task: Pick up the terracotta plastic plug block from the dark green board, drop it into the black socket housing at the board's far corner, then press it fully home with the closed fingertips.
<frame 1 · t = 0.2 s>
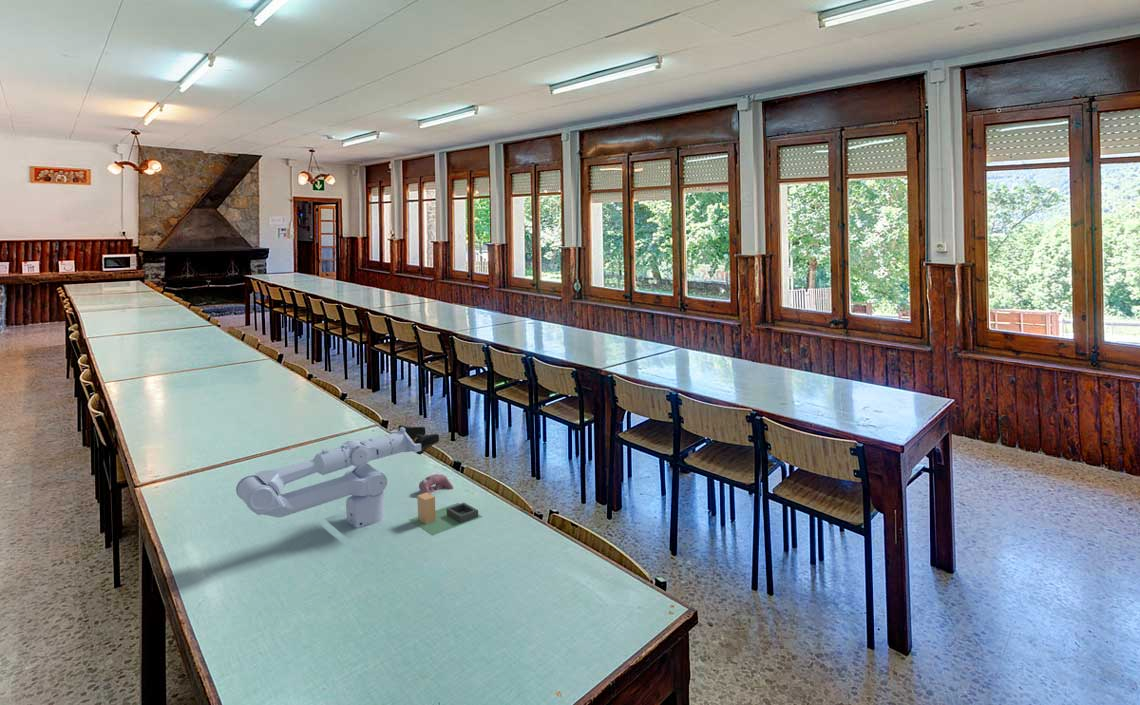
hand: (431, 434, 177), 21 cm above the table, tool horizontal, fingers open, 7 cm apart
plug: (426, 520, 167), point 1 cm above the table, touching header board
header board: (446, 522, 169), on the table
video game controller: (436, 495, 187), on the table
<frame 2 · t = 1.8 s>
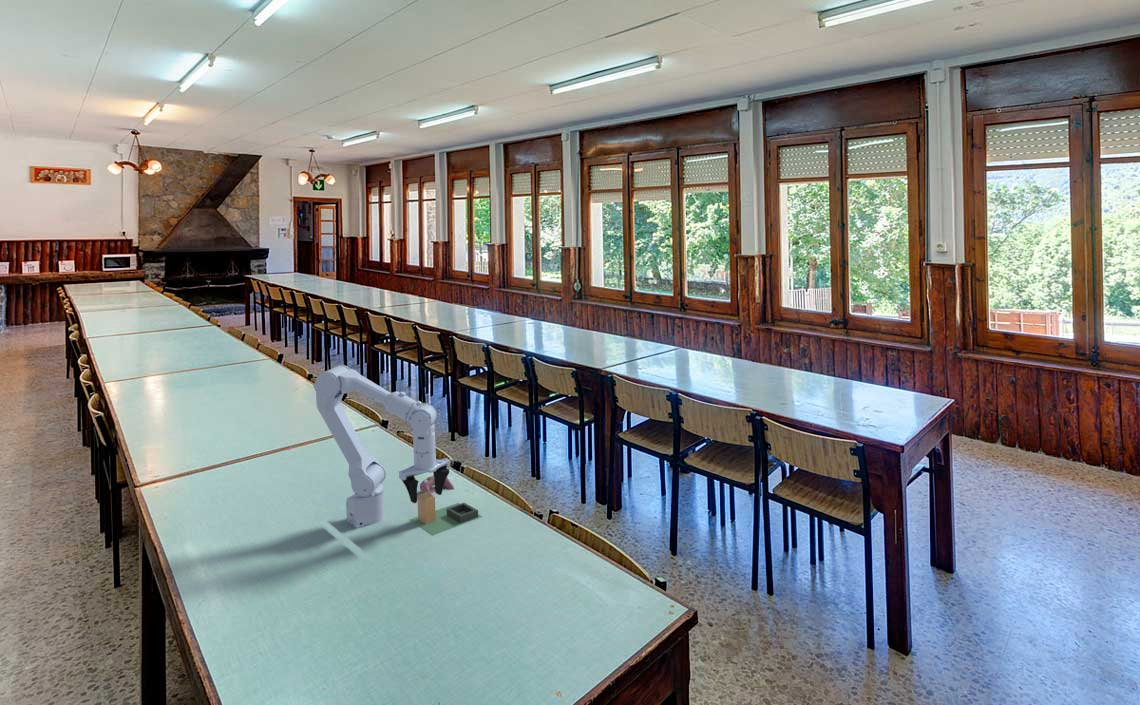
hand: (426, 497, 166), 8 cm above the table, tool pointing down, fingers open, 7 cm apart
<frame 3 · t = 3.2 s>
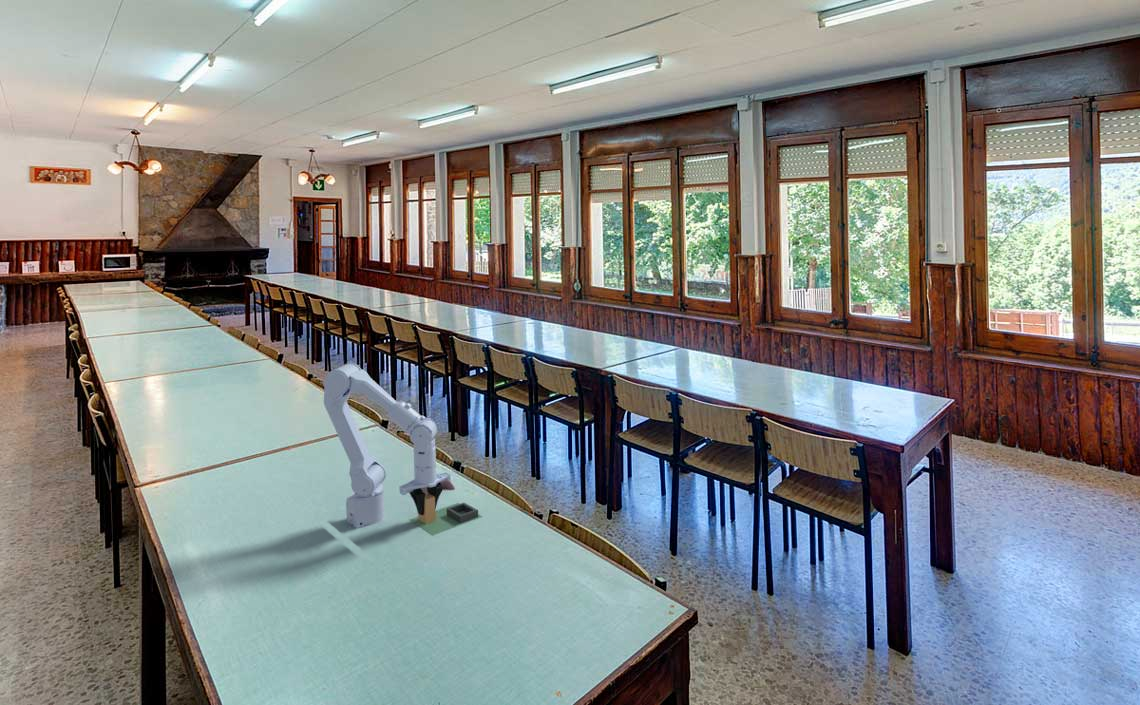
hand: (426, 511, 167), 4 cm above the table, tool pointing down, fingers closed on plug, 3 cm apart
plug: (426, 520, 167), point 1 cm above the table, touching gripper, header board
everything else where it was.
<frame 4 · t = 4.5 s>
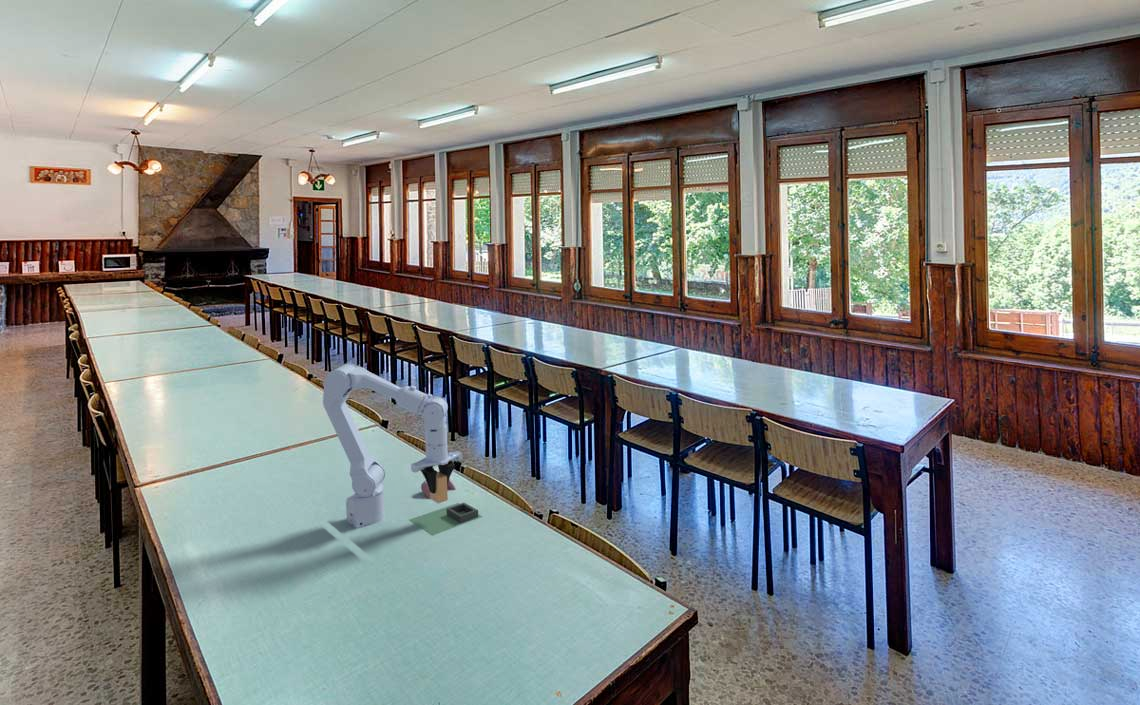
hand: (438, 490, 166), 10 cm above the table, tool pointing down, fingers closed on plug, 3 cm apart
plug: (438, 499, 167), point 7 cm above the table, touching gripper
when the fingers open (6 cm above the table, at t = 6.1 s): plug drops 3 cm, resting on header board.
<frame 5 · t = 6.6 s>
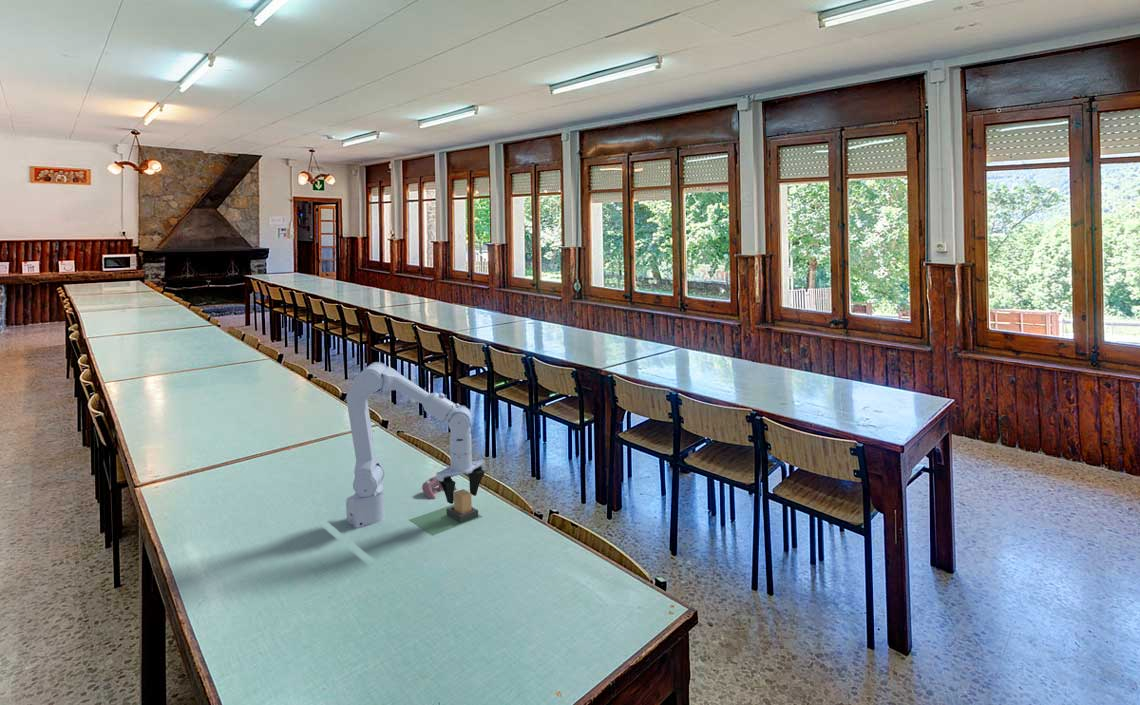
hand: (462, 498, 169), 6 cm above the table, tool pointing down, fingers open, 7 cm apart
plug: (463, 516, 169), point 1 cm above the table, touching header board
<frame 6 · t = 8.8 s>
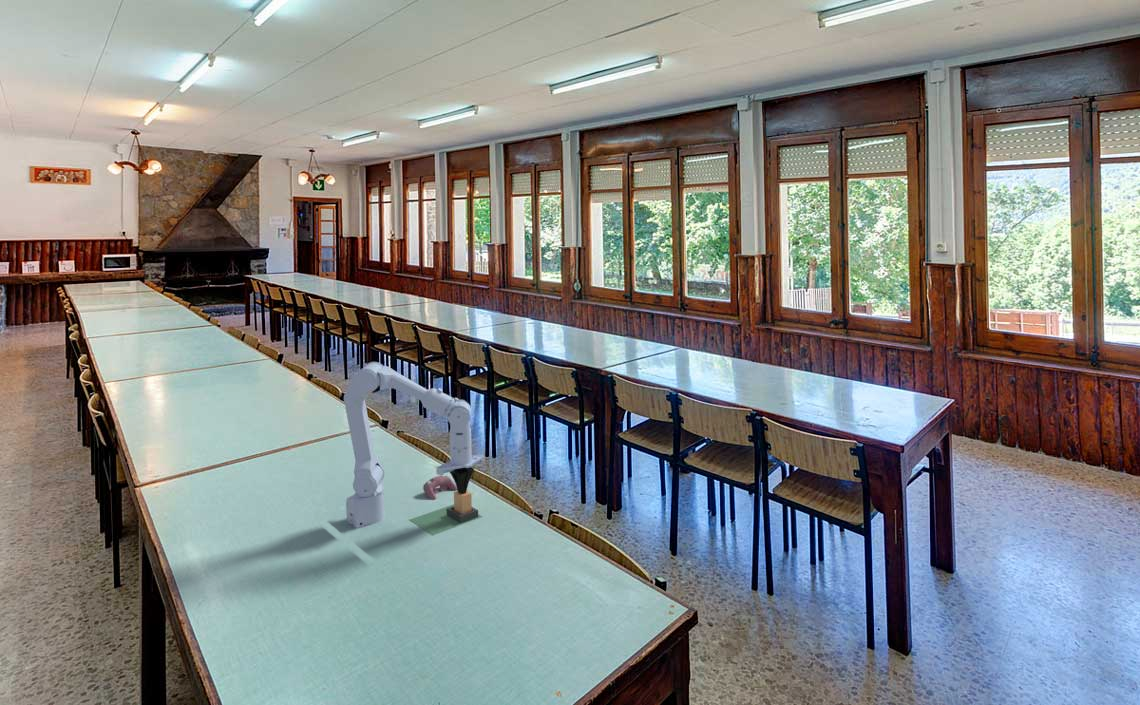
hand: (462, 492, 168), 8 cm above the table, tool pointing down, fingers closed, pressing on plug
plug: (463, 516, 169), point 1 cm above the table, touching gripper, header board
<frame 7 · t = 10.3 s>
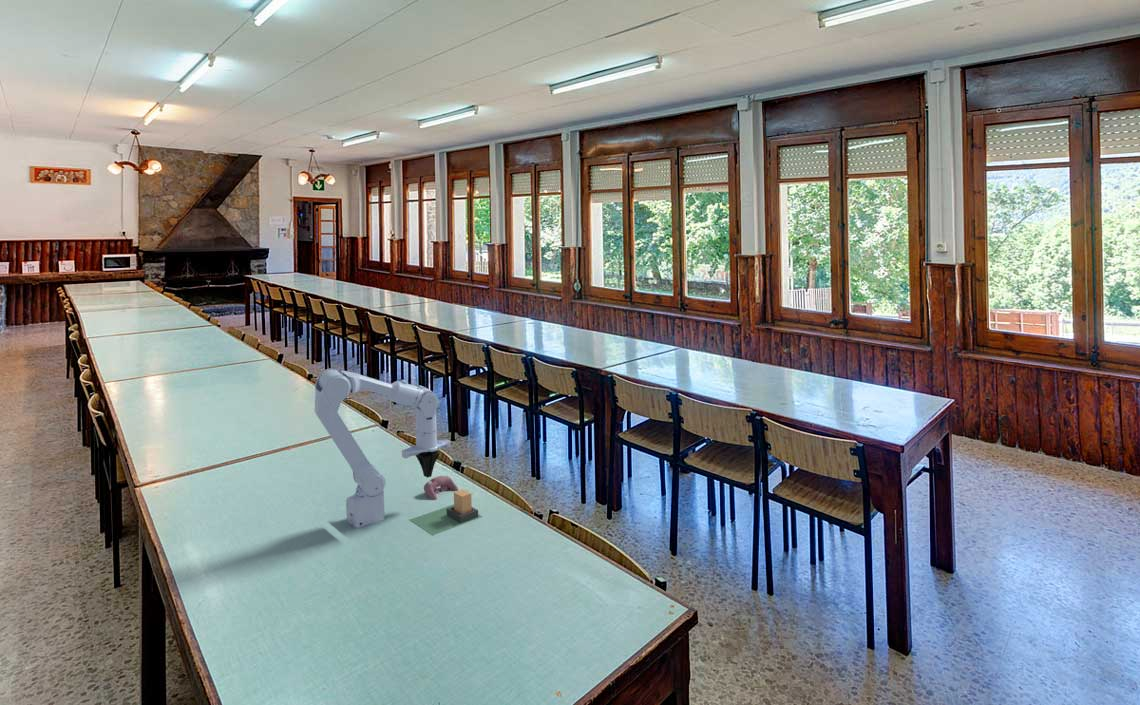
hand: (427, 476, 175), 10 cm above the table, tool pointing down, fingers closed
plug: (463, 516, 169), point 1 cm above the table, touching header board
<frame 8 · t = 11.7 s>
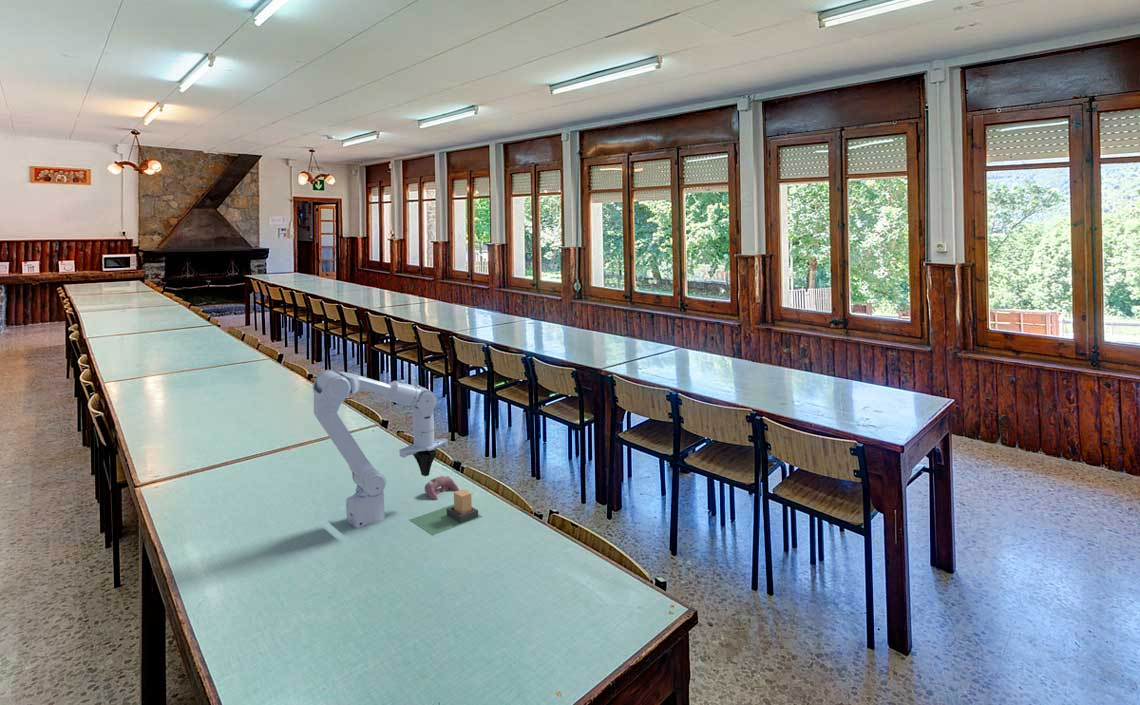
hand: (425, 475, 176), 10 cm above the table, tool pointing down, fingers closed
at the end: plug 0.4 cm from the target spot on the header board, point 1.2 cm above the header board's base; plug tilted 0°; the gripper is holding nothing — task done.
